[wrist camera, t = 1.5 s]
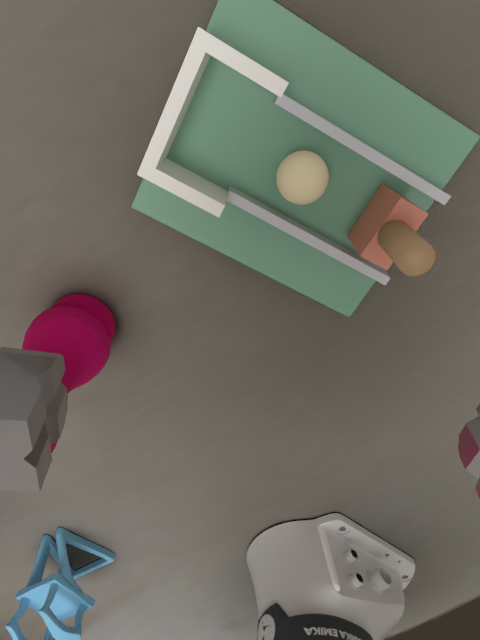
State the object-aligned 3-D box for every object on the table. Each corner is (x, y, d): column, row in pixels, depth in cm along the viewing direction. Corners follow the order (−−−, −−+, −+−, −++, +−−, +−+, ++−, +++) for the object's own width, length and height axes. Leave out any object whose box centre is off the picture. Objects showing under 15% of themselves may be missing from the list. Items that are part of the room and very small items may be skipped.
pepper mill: (72, 273, 42) (-51, 412, 25) (135, 320, 44) (64, 479, 27) (32, 324, 45) (-107, 483, 27) (94, 365, 47) (3, 539, 29)
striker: (407, 198, 38) (457, 234, 29) (371, 249, 40) (407, 298, 31) (382, 183, 37) (425, 216, 28) (347, 236, 39) (377, 282, 30)
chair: (73, 519, 58) (35, 618, 47) (116, 554, 61) (90, 654, 50) (30, 541, 60) (-16, 640, 49) (74, 574, 63) (39, 674, 52)
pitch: (475, 135, 37) (514, 144, 31) (347, 312, 44) (361, 344, 39) (230, -25, 32) (228, -46, 26) (133, 204, 39) (116, 223, 34)
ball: (334, 162, 37) (343, 171, 33) (307, 206, 38) (313, 219, 35) (291, 137, 36) (296, 143, 32) (265, 183, 37) (268, 194, 34)
